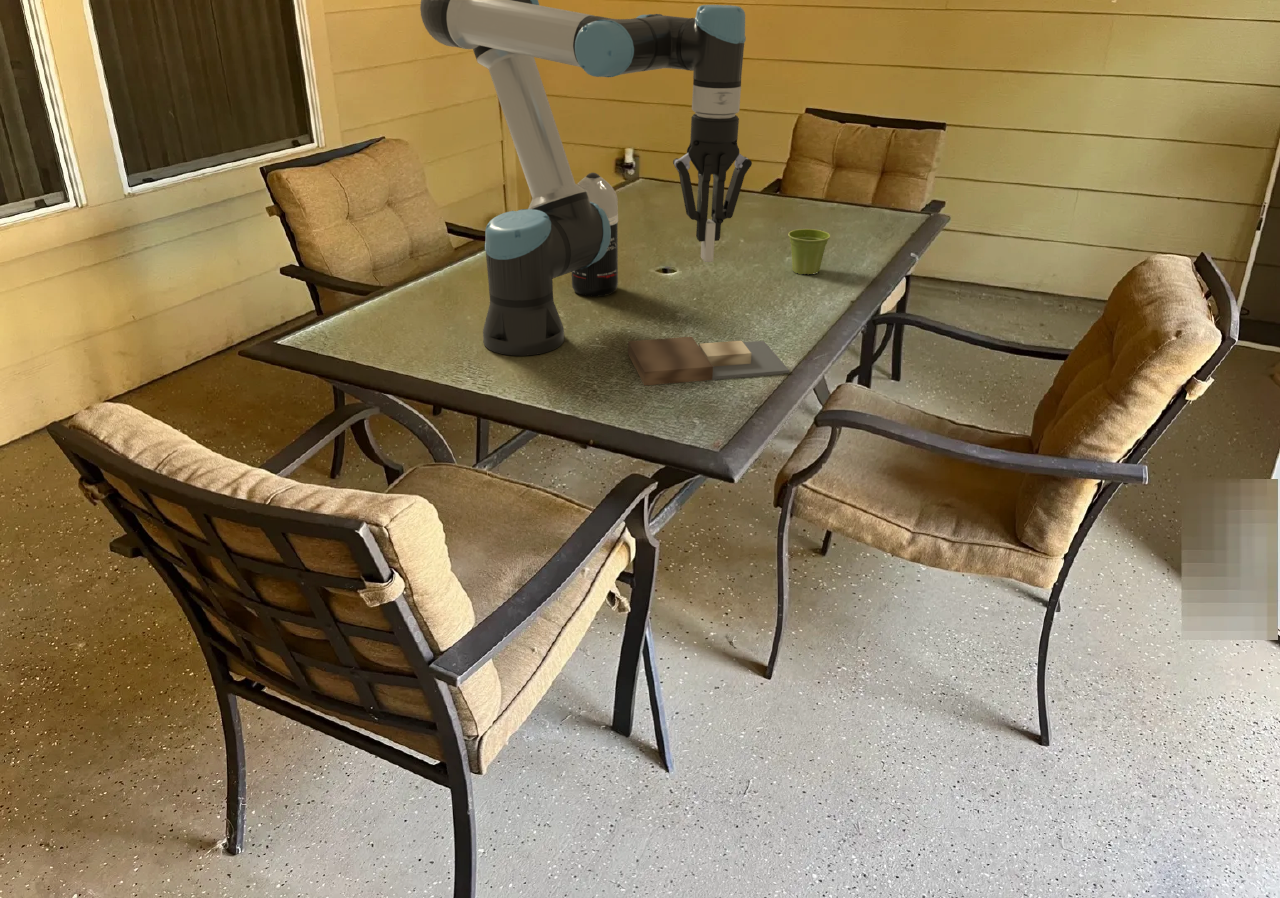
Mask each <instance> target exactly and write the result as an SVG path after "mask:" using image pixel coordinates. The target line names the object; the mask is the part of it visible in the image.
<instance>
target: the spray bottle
mask: <svg viewBox="0 0 1280 898" xmlns="http://www.w3.org/2000/svg"><path fill="white" fill-rule="evenodd" d="M576 185H578V186H579V187H581V188H583V189H585V190H586V192H587V195H588V198H589V201H590V202H593V203H595V204H597V205H598V206H599V208H602V209H603V210H604V212H605V213H606V215H607V217H608V220H609V223H610V228H611V239H610V244H609V246H608V248H607V252H606V253H605V255H604V256H603V257H602V258H601V259H600V260H599V261H597V262H595V263H593V264H591V265H590V266H588V267H586V268H583V269H578V270H575V271H573V272H571V286H572V287H571V288H572V290H573V291H574V292H575V293H576V294H579V295H582V296H586V297H603V296H608V295H610V294H613V293H614V292H616V290H617V289H618V285H619V277H618V276H619V274H618V273H619V271H618V269H619V266H618V265H619V259H618V256H619V253H618V252H619V251H618V250H619V247H618V246H619V245H618V239H619V237H618V234H619V233H618V229H619V228H618V225H619V224H618V222H619V213H618V212H619V208H618V204H619V203H618V200H619V199H618V195H617V192H616V191H615V189H614V187H613V186H612V185H611V184H610V183H609V182H608V181H607V180H605V179H604V178H603V177H602V176H600V175H599V174H598V173H596V172H590V173H588V174H587V175H586V176H584V178H582V179H581V180H579V182H577V183H576Z"/></svg>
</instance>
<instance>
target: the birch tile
mask: <svg viewBox="0 0 1280 898" xmlns="http://www.w3.org/2000/svg"><path fill="white" fill-rule="evenodd" d="M743 342H744V341H743V340H730V341H729V340H728V341H717V342H716V341H715V342H704V343H698V346H699V347H700V349H701V350H702V352H703V353H704V354H705V356H706V357H707V359H708V360H709V362H710V363H711V364H712V366H726V365H739V364H751V352H750V351H749V349H748V348H747V347H746V346H745V344H744V343H743Z"/></svg>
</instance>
